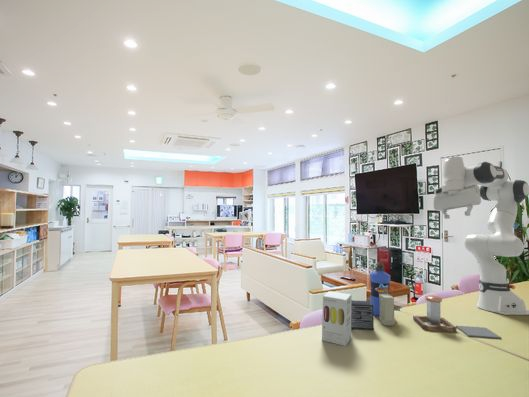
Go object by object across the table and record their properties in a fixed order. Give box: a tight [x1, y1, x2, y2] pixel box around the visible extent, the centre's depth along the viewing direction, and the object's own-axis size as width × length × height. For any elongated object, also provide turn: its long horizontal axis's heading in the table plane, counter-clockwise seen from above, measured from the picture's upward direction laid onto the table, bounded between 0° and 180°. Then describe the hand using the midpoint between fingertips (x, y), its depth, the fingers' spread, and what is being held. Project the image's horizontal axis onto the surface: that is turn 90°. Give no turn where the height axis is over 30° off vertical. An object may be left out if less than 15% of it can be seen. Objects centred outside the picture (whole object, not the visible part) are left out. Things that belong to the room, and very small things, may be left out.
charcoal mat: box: [455, 325, 502, 340], centre depth 122 cm, size 12×10×1 cm
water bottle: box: [369, 261, 391, 318], centre depth 143 cm, size 9×9×25 cm
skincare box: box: [379, 293, 395, 326], centre depth 131 cm, size 6×4×12 cm
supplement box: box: [321, 290, 352, 347], centre depth 113 cm, size 10×9×17 cm
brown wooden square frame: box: [412, 315, 457, 333], centre depth 129 cm, size 13×13×2 cm
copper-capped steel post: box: [424, 294, 443, 326], centre depth 129 cm, size 6×6×12 cm
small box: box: [351, 300, 375, 331], centre depth 126 cm, size 11×6×10 cm, turn 84°
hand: (457, 217), depth 135 cm, fingers open, 8 cm apart
